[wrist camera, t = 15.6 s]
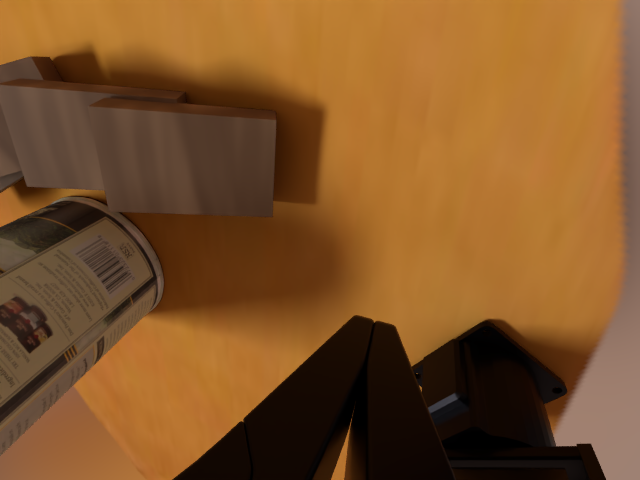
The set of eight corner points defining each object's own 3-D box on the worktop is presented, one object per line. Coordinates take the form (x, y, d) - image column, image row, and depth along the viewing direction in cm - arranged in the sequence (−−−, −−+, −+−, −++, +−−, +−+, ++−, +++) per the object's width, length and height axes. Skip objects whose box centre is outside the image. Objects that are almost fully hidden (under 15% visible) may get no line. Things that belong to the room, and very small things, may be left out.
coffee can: (35, 263, 30) (-231, 413, 18) (56, 165, 25) (-303, 288, 13) (142, 337, 31) (-44, 527, 19) (186, 258, 25) (-37, 456, 13)
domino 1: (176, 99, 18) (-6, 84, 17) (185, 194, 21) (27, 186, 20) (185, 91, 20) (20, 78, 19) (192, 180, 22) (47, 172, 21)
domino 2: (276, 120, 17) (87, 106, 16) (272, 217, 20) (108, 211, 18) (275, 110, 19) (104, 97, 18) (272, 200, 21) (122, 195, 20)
